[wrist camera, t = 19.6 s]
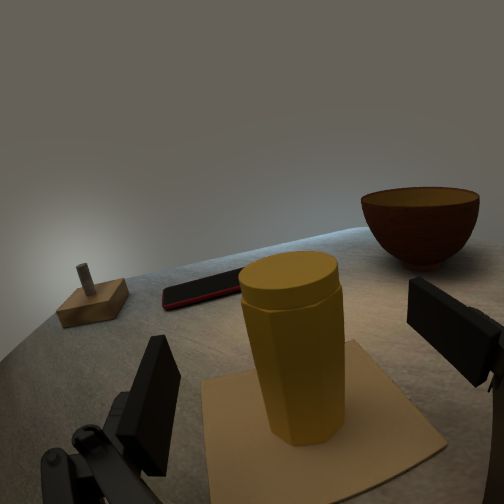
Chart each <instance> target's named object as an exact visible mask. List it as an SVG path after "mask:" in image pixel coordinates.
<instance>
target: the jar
mask: <svg viewBox="0 0 504 504" xmlns="http://www.w3.org/2000/svg"><path fill="white" fill-rule="evenodd" d="M238 278H239V282H240V287H241V292H242V299H241V306H242V310H243V315H244V319H245V324H246V328H247V332H248V337H249V341H250V345H251V350H252V354H253V358H254V363H255V367H256V371H257V376H258V380H259V384H260V388H261V392H262V396H263V401H264V405H265V409H266V413H267V417H268V421H269V425H270V429H271V432H272V433H274V434H275V435H277V436H278V437H279V438H281V439H282V440H284V441H285V442H287V443H289V444H290V445H292V446H302V445H311V444H318V443H325V442H326V441H327V440H328V439H329V438H330V437H331V436H332V435H333V434H334V433H335V432H336V431H337V430H338V429H339V428H340V427H341V426H342V425H343V424H344V413H345V335H344V311H343V293H342V286H341V284H340V282H339V273H338V263H337V260H336V259H335V258H334V257H333V256H331V255H329V254H326V253H322V252H315V251H296V252H287V253H281V254H276V255H272V256H269V257H265V258H262V259H260V260H257V261H255V262H253V263H251V264H249V265H247V266H246V267H245V268H243V269H242V270H241V272H240V273H239V277H238Z"/></svg>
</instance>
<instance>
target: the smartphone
mask: <svg viewBox="0 0 504 504" xmlns="http://www.w3.org/2000/svg"><path fill="white" fill-rule="evenodd" d="M243 268H245V267H243ZM243 268H239V269H235V270H232V271H228V272H224V273H220V274H217V275H213V276H209V277H205V278H202V279H198V280H194V281H190V282H186V283H183V284H179V285H175V286H171V287H167V288H165V289H164V290H163V296H162V307H163V308H164V309H173V308H176V307H180V306H184V305H188V304H192V303H195V302H199V301H203V300H207V299H210V298H214V297H218V296H221V295H225V294H229V293H232V292H236V291H239V290H241V287H240V282H239V278H238V277H239V273H240V272H241V270H242V269H243Z"/></svg>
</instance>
